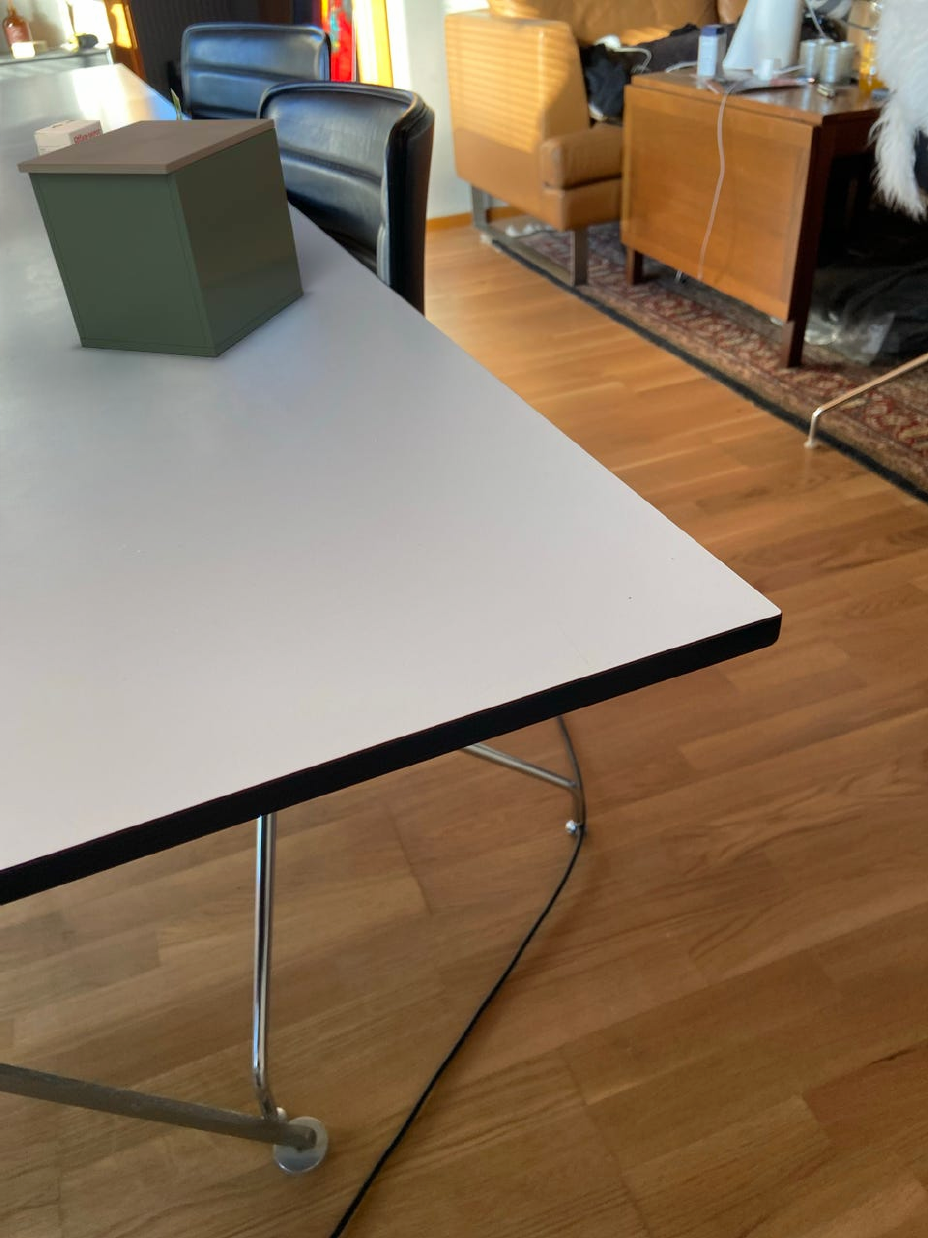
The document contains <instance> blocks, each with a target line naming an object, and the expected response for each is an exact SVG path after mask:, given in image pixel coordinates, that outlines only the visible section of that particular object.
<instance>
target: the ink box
mask: <svg viewBox="0 0 928 1238" xmlns="http://www.w3.org/2000/svg"><path fill="white" fill-rule="evenodd" d="M34 133H35V134H33V136H34V137H33V138H34V141H35V144H36V147H37V150H38V154H39V156H41V155H44V154H47V153H50V152H52V151H55V150H58V149H61V148H64V147H67V146H70V145H72V144H75V143H78V142H81V141H84V140H87V139H89V138H92V137H95V136H98V135H101V134H104V131H103V127H102V124H101V120H100V119H65V120H62V121H59V122H55V123H53V124H50V125H48V126H46V127H43V128H41V129H38V130H35V131H34Z"/></svg>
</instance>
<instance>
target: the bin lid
mask: <svg viewBox="0 0 928 1238" xmlns="http://www.w3.org/2000/svg"><path fill="white" fill-rule="evenodd" d="M272 128H276V125H275V119H274V118H248V119H247V118H242V119H241V118H238V119H237V118H236V119H235V118H232V119H231V118H230V119H227V118H226V119H183V120H177V119H156V120H155V119H152V120H146V119H145V120H138V121H135V122H133V123H130V124H127V125H123V126H121V127H119V128H115V129H112V130H109V131H107V132H103V134H101V135H98V136H95V137H92V138H89V139H87V140H84V141H81V142H78V143H75V144H72V145H70V146H67V147H64V148H61V149H58V150H55V151H52V152H50V153H47V154H44V155H41V156H40V155H38V156H36V157H33V158H30V159H27V160H24V161H21V162H19V163H17V164H16V166H17V168H18V172H19V173H21V174H28V173H102V174H168V173H170V172H173V171H175V170H177V169H180V168H182V167H184V166H187V165H189V164H191V163H194V162H196V161H198V160H200V159H203V158H205V157H207V156H210V155H212V154H214V153H217V152H219V151H221V150H223V149H226V148H228V147H230V146H233V145H235V144H237V143H240V142H242V141H244V140H246V139H249V138H251V137H253V136H256V135H258V134H260V133H263V132H265V131H267V130H270V129H272Z"/></svg>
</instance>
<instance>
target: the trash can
mask: <svg viewBox="0 0 928 1238" xmlns="http://www.w3.org/2000/svg"><path fill="white" fill-rule="evenodd" d="M27 174H28V178H29V180H30V183H31V186H32V190H33V193H34V197H35V200H36V203H37V207H38V209H39V213H40V215H41V219H42V221H43V225H44V228H45V231H46V234H47V238H48V241H49V244H50V248H51V251H52V254H53V257H54V261H55V263H56V266H57V270H58V273H59V276H60V279H61V282H62V286H63V289H64V292H65V295H66V299H67V302H68V305H69V308H70V311H71V315H72V318H73V321H74V324H75V328H76V330H77V333H78V334H77V335H78V337H79V340H80V344H81V347H83V348H84V347H85V348H94V349H108V350H120V351H121V350H122V351H132V352H133V351H134V352H144V353H145V352H147V353H157V354H158V353H159V354H171V355H172V354H173V355H175V354H176V355H183V356H184V355H185V356H198V357H210V358H211V357H212V358H217V357H218V356H220V355H221V354H223V353H224V352H225V351H227V350H228V349H230V348H231V347H233V346H234V345H235V344H236V343H238V342H239V341H241V340H242V339H244V338H245V337H246V336H248V335H249V334H250V333H252V332H253V331H254V330H256V329H258V328H259V327H260V326H261V325H263V324H264V323H266V322H267V321H269V320H270V319H271V318H273V317H274V316H275V315H277V314H279V313H280V312H281V311H283V310H284V309H285V308H287V307H288V306H289V305H291V304H292V303H294V302H295V301H296V300H297V299H299V298H301V297H302V296H304V290H303V284H302V277H301V271H300V266H299V260H298V254H297V248H296V242H295V237H294V231H293V230H294V229H293V225H292V224H293V223H292V219H291V213H290V207H289V202H288V196H287V195H288V194H287V188H286V183H285V177H284V172H283V166H282V159H281V154H280V148H279V143H278V136H277V130H276V127H274V128H272V129H270V130H267V131H265V132H263V133H260V134H258V135H256V136H253V137H251V138H249V139H246V140H244V141H242V142H240V143H237V144H235V145H233V146H230V147H228V148H226V149H223V150H221V151H219V152H217V153H214V154H212V155H210V156H207V157H205V158H203V159H200V160H198V161H196V162H194V163H191V164H189V165H187V166H184V167H182V168H180V169H177V170H175V171H173V172H170V173H168V174H102V173H27Z"/></svg>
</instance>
